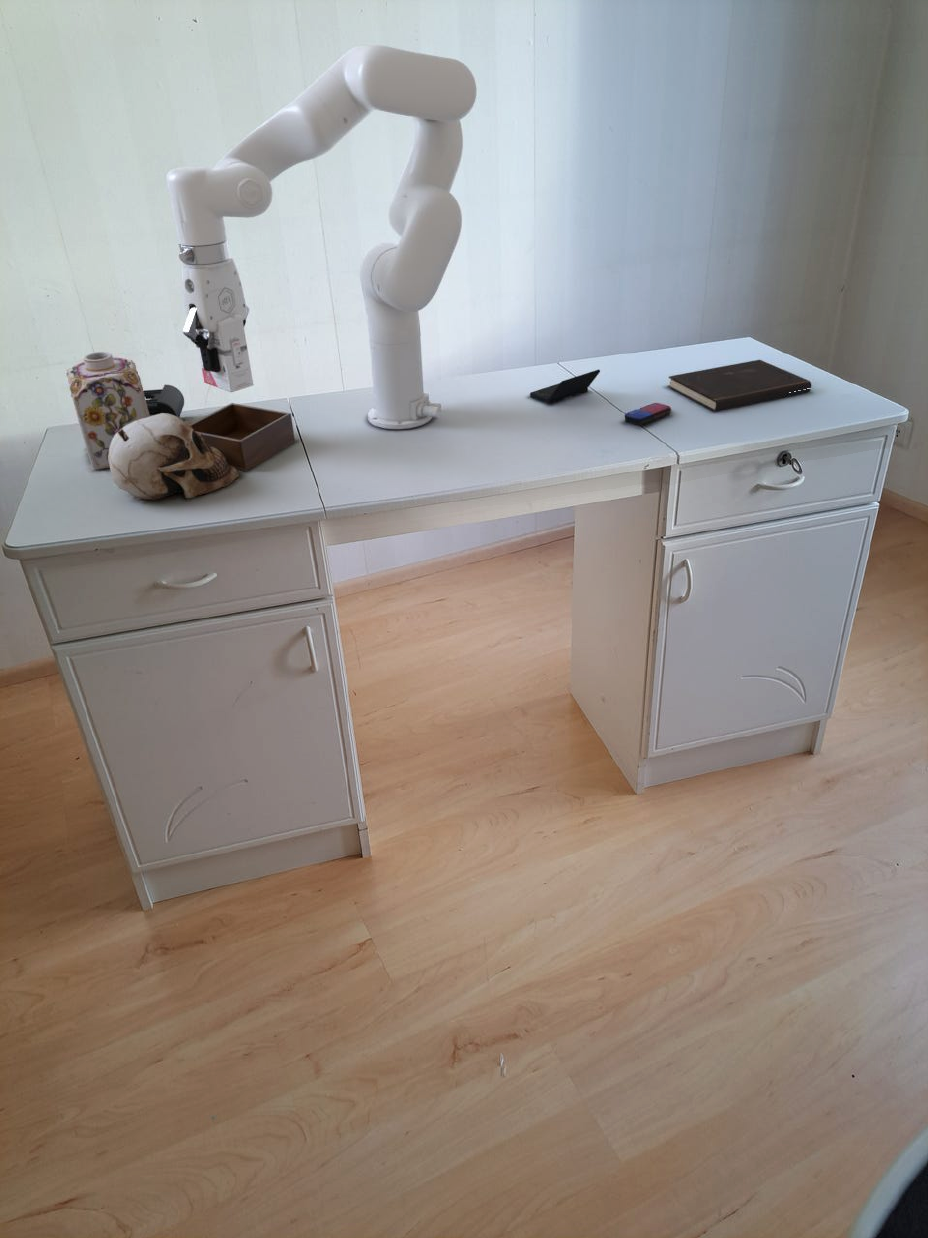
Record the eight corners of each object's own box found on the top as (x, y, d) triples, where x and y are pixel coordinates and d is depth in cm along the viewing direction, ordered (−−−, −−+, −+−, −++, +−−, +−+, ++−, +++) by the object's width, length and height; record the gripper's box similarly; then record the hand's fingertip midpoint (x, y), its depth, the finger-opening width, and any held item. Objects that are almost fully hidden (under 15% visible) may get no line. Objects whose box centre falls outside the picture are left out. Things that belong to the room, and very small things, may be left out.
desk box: (295, 441, 160) (291, 413, 157) (246, 471, 150) (240, 441, 147) (236, 430, 166) (231, 402, 163) (185, 458, 155) (179, 429, 152)
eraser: (657, 408, 169) (658, 399, 168) (674, 413, 166) (675, 404, 166) (620, 422, 163) (621, 413, 162) (637, 428, 160) (638, 419, 159)
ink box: (202, 382, 152) (189, 313, 145) (226, 375, 155) (213, 307, 148) (231, 393, 147) (218, 322, 140) (255, 385, 150) (243, 315, 143)
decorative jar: (88, 447, 161) (60, 350, 150) (152, 436, 164) (129, 341, 154) (92, 472, 152) (62, 370, 141) (161, 459, 155) (136, 360, 145)
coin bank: (247, 471, 149) (225, 399, 141) (183, 525, 138) (155, 450, 129) (177, 461, 155) (152, 391, 147) (110, 511, 144) (79, 439, 135)
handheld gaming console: (559, 374, 181) (581, 344, 173) (581, 400, 181) (605, 370, 172) (524, 397, 176) (546, 367, 167) (548, 423, 175) (571, 394, 167)
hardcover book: (667, 387, 178) (668, 376, 177) (757, 369, 186) (759, 359, 184) (715, 412, 166) (716, 401, 165) (810, 393, 173) (812, 381, 172)
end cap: (181, 435, 164) (173, 400, 161) (142, 438, 164) (134, 403, 160) (188, 416, 173) (180, 382, 169) (151, 418, 172) (143, 385, 168)
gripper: (186, 267, 131) (208, 383, 141) (257, 244, 144) (273, 353, 154) (148, 263, 134) (173, 377, 144) (222, 241, 147) (240, 348, 157)
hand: (225, 364), depth 149 cm, fingers closed on ink box, 5 cm apart
